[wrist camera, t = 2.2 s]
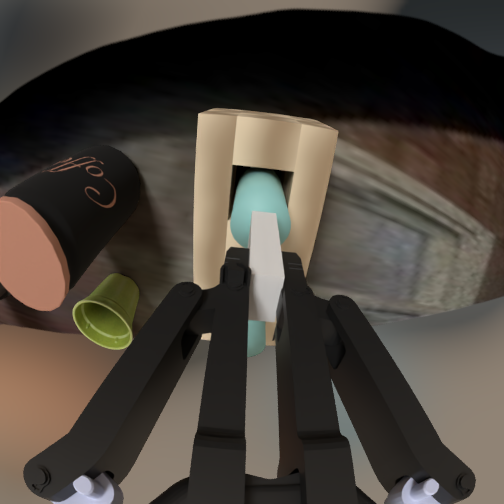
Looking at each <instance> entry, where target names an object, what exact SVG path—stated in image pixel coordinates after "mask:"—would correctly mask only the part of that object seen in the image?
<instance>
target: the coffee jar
mask: <svg viewBox="0 0 504 504" xmlns="http://www.w3.org/2000/svg"><path fill="white" fill-rule="evenodd" d="M139 198H140V182H139V178H138V174H137V171H136V169H135V167H134V166H133V164H132V162H131V160H130V159H129V158H128V157H127V156H126V155H124V154H123V153H122V152H121V151H119V150H117V149H115V148H113V147H110V146H104V145H96V146H93V147H90V148H87V149H85V150H82V151H80V152H78V153H76V154H74V155H72V156H70V157H68V158H66V159H64V160H62V161H60V162H58V163H56V164H54V165H52V166H50V167H48V168H46V169H44V170H43V171H41V172H39V173H37V174H35V175H34V176H32V177H30V178H28V179H27V180H25V181H23V182H22V183H20V184H18V185H17V186H15V187H13V188H12V189H10V190H9V191H8V192H7V193H6V194H5V196H4V197H1V198H0V282H1V284H2V285H3V286H4V287H5V288H6V289H7V290H8V291H9V292H10V293H11V294H12V295H13V296H14V297H15V298H16V299H18V300H19V301H21V302H22V303H23V304H25V305H27V306H29V307H31V308H34V309H36V310H39V311H51V310H53V309H55V308H57V307H59V306H60V305H61V304H62V302H63V300H64V298H65V297H66V295H67V293H68V291H69V290H70V289H71V288H73V287H74V286H75V284H76V283H77V282H78V280H79V279H80V278H81V276H82V275H83V273H84V272H85V271H86V269H87V268H88V267H89V266H90V264H91V263H92V262H93V260H94V259H95V258H96V256H97V255H98V254H99V253H100V251H101V250H102V249H103V248H104V246H105V245H106V244H107V243H108V242H109V240H110V239H111V238H112V237H113V235H114V234H115V233H116V232H117V231H118V230H119V228H120V227H121V226H122V225H123V224H124V222H125V221H126V220H127V219H128V218H129V217H130V215H131V214H132V213H133V212H134V210H135V209H136V206H137V203H138V201H139Z"/></svg>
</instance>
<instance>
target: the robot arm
mask: <svg viewBox="0 0 504 504" xmlns="http://www.w3.org/2000/svg"><path fill="white" fill-rule="evenodd" d="M9 295H11V293H10V292H9V291H8V290H7V289H6V288H5V287H4V286H3V285H2V284H1V282H0V300H2V299H4V298H5V297H7V296H9ZM275 318H276V321H277V323H276V327H275V331H274V335H273V339H272V341H275V346H276V365H277V366H276V367H277V391H278V415H279V448H280V460H279V465H278V472H277V478H276V479H265V478H261V477H257V476H253V475H249V474H245V462H246V461H245V460H246V440H245V408H246V405H245V404H246V377H247V348H248V320H254V321H266V322H275ZM206 333H211V338H210V345H209V351H208V358H207V365H206V371H205V378H204V385H203V392H202V399H201V406H200V414H199V421H198V428H197V432H196V435H195V438H194V444H193V452H192V460H191V468H190V476H189V477H187V478H185V479H182V480H180V481H179V482H177V483H175V484H173V485H172V486H171V487H169V488H168V489H167V490H166V491H164V492H163V493H162V494H161V495H160V496H158V497H157V498H156V499H154V500H153V501H152V502H150V503H149V504H376V503H375V502H374V501H373V500H371V499H370V498H369V497H368V496H367V495H366V494H365V493H364V492H363V491H361V489H359V488H358V487H357V486H356V484H355V476H354V469H353V462H352V456H351V449H350V444H349V441H348V439H347V438H346V437H345V436H342V435H341V433H340V430H339V423H338V417H337V411H336V405H335V399H334V393H333V388H332V382H331V379H332V381H333V383H334V385H335V387H336V390H337V392H338V394H339V396H340V398H341V401H342V403H343V405H344V407H345V409H346V411H347V413H348V416H349V418H350V420H351V422H352V424H353V426H354V428H355V431H356V433H357V435H358V437H359V440H360V442H361V444H362V446H363V448H364V450H365V453H366V455H367V457H368V459H369V462H370V464H371V466H372V468H373V470H374V472H375V474H376V476H377V478H378V480H379V482H380V483H381V484H382V486H383V487H384V489H385V490H386V491H387V492H388V493H389V494H388V497H387V498H386V500H385V502H384V504H454V503H456V502H459V501H461V500H464V499H465V498H467V497H469V496H470V495H471V493H472V492H473V490H474V487H475V481H476V479H475V475H474V473H473V472H472V470H471V469H470V468H468V466H466V465H465V464H464V463H463V462H462V461H461V460H460V459H459V458H458V457H457V456H456V455H454V454H453V453H452V452H451V451H450V450H449V449H448V448H447V447H446V446H445V445H444V444H443V443H442V442H441V440H440V438H439V436H438V434H437V432H436V431H435V429H434V427H433V425H432V424H431V422H430V420H429V418H428V417H427V415H426V413H425V411H424V410H423V408H422V406H421V404H420V403H419V401H418V399H417V398H416V396H415V394H414V393H413V391H412V389H411V388H410V386H409V384H408V383H407V381H406V380H405V378H404V376H403V375H402V373H401V371H400V370H399V368H398V367H397V365H396V363H395V362H394V360H393V359H392V357H391V356H390V354H389V352H388V351H387V349H386V348H385V346H384V345H383V343H382V342H381V340H380V339H379V337H378V336H377V334H376V332H375V331H374V329H373V328H372V326H371V325H370V323H369V322H368V320H367V319H366V318H365V316H364V315H363V313H362V312H361V310H360V309H359V307H358V306H357V304H356V303H355V302H354V301H353V300H352V299H351V298H349V297H347V296H344V295H335V296H333V297H331V298H330V300H329V301H328V300H325V299H321V298H319V297H316V296H315V295H313V291H312V290H311V288H310V287H308V286H307V284H306V279H305V275H304V270H303V266H302V261H301V258H300V257H299V256H298V255H297V253H294V252H285V251H281V245H280V238H279V230H278V223H277V216H276V213H269V212H260V211H252V215H251V223H250V232H249V240H248V248H239V247H230V248H229V249H228V250H227V251H226V256H225V261H224V265H222V266H221V268H220V282H219V284H218V285H217V286H215V287H213V288H209V289H201V287H200V286H199V285H197V284H195V283H193V282H181V283H179V284H176V285H175V286H174V287H173V288H172V289H171V291H170V292H169V293H168V294H167V296H166V297H165V298H164V300H163V301H162V302H161V304H160V305H159V306H158V308H157V309H156V310H155V311H154V313H153V314H152V315H151V317H150V318H149V319H148V321H147V322H146V323H145V325H144V326H143V327H142V329H141V330H140V331H139V333H138V334H137V336H136V337H135V338H134V340H133V341H132V342H131V344H130V345H129V346H128V348H127V349H126V351H125V352H124V354H123V355H122V356H121V358H120V359H119V360H118V362H117V363H116V364H115V366H114V367H113V369H112V370H111V371H110V373H109V374H108V376H107V377H106V379H105V380H104V381H103V383H102V384H101V386H100V387H99V389H98V390H97V392H96V393H95V394H94V396H93V397H92V399H91V400H90V402H89V403H88V405H87V406H86V408H85V409H84V411H83V412H82V414H81V415H80V417H79V418H78V420H77V421H76V423H75V424H74V426H73V427H72V429H71V430H70V432H69V433H68V434H66V435H65V436H64V437H62V438H61V439H59V440H58V441H57V442H55V443H54V444H52V445H51V446H49V447H48V448H47V449H45V450H44V451H42V452H41V453H39V454H38V455H37V456H35V457H34V458H32V459H31V460H29V461H28V463H27V464H26V465H25V467H24V471H23V474H24V480H25V483H26V485H27V487H28V488H29V489H30V490H31V491H32V492H33V493H34V494H36V495H38V496H39V497H42V498H44V499H47V500H49V501H51V502H53V504H123V499H124V498H123V493H122V490H121V489H120V487H119V486H118V485H119V484H120V483H121V482H122V481H123V479H124V478H125V477H126V476H127V475H128V473H129V472H130V470H131V468H132V467H133V465H134V463H135V461H136V460H137V458H138V456H139V454H140V452H141V450H142V448H143V446H144V444H145V442H146V441H147V439H148V437H149V435H150V433H151V431H152V429H153V427H154V426H155V423H156V421H157V420H158V418H159V416H160V414H161V412H162V410H163V408H164V407H165V405H166V403H167V401H168V399H169V397H170V395H171V393H172V392H173V390H174V388H175V386H176V384H177V382H178V380H179V378H180V377H181V375H182V373H183V371H184V369H185V367H186V365H187V364H188V362H189V360H190V358H191V356H192V354H193V352H194V350H195V349H196V347H197V345H198V343H199V341H200V339H201V337H202V334H206Z"/></svg>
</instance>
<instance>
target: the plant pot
mask: <svg viewBox="0 0 504 504" xmlns="http://www.w3.org/2000/svg"><path fill="white" fill-rule="evenodd" d="M138 299H139V289H138V287H137V285H136V284H135V282H134V281H133V280H132V279H130V278H129V277H125V276H123V275H121V274H119V273H114V274H111V275H109V276H108V277H107V278H106V279H105V280H104V281H103V282H102V283H101V284H100V285H99V286H98V287H97V288H96V289H95V290H94V291H93V292H92V293H91V294H90V296H89V297H87V298H85V299H84V300H81V301H79V302H78V303H77V304H76V305H75V306H74V309H73V318H74V321H75V323H76V325H77V327H78V328H79V330H80V331H81V332H82V333H83V334H84V335H85V336H86V337H87V338H89V339H90V340H91V341H93V342H95V343H96V344H98V345H100V346H103V347H106V348H109V349H124V348H126V347H127V346H129V345H130V344H131V342H132V338H133V334H132V322H133V318H134V314H135V310H136V306H137V303H138Z"/></svg>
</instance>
